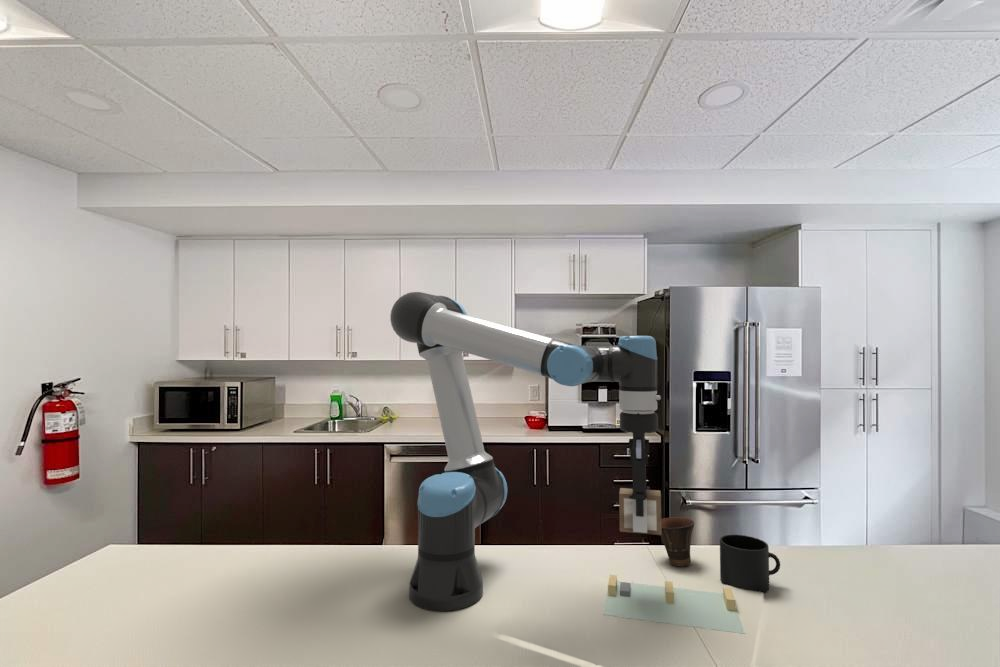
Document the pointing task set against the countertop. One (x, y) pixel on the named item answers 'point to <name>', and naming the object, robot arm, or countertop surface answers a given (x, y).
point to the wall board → (673, 605)
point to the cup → (677, 539)
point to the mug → (746, 563)
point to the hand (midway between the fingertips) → (640, 527)
